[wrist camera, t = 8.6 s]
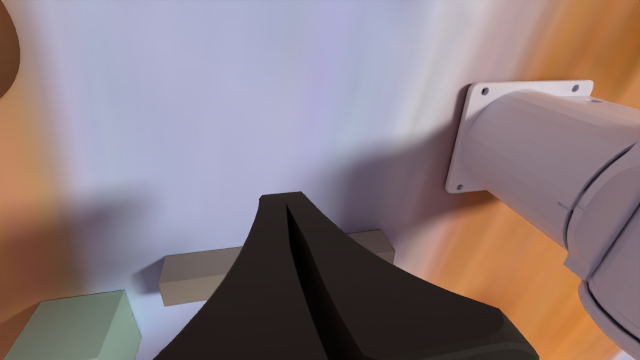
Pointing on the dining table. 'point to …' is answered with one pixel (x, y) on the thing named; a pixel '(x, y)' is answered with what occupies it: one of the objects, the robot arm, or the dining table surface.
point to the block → (80, 330)
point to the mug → (8, 50)
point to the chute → (212, 266)
